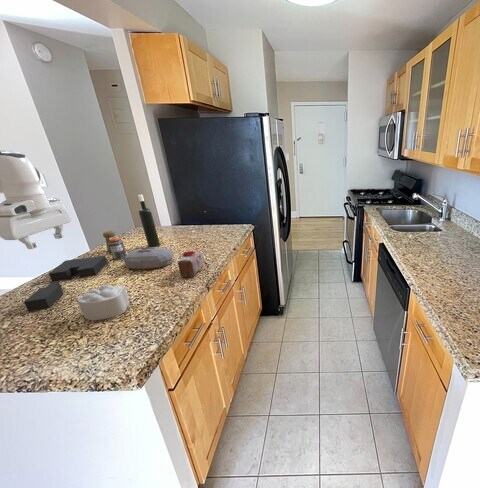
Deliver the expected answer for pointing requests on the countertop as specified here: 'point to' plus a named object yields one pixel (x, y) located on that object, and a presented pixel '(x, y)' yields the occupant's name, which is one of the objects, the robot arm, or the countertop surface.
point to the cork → (108, 235)
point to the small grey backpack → (148, 258)
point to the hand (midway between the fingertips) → (46, 242)
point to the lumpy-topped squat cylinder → (104, 302)
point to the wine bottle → (148, 224)
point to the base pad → (78, 268)
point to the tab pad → (44, 297)
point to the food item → (190, 263)
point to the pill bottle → (117, 248)
